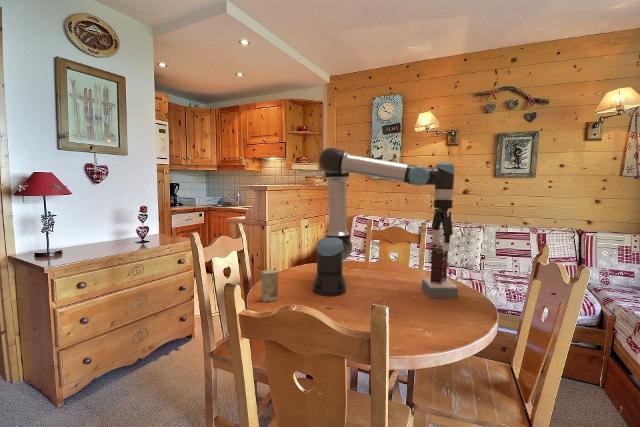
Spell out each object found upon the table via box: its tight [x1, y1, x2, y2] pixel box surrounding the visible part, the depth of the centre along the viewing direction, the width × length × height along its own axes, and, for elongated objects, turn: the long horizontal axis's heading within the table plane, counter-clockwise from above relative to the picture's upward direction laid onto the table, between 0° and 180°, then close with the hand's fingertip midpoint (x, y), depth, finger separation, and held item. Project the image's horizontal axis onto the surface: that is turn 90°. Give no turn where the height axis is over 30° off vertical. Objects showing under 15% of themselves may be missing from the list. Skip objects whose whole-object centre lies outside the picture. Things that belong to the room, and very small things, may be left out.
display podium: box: [421, 277, 459, 299], centre depth 144 cm, size 12×12×5 cm
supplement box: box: [430, 244, 449, 285], centre depth 144 cm, size 9×5×16 cm, turn 142°
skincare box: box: [260, 269, 279, 303], centre depth 135 cm, size 6×4×12 cm
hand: (440, 247), depth 143 cm, fingers open, 13 cm apart
